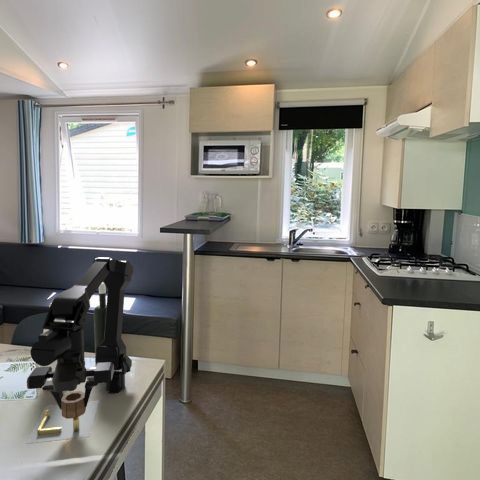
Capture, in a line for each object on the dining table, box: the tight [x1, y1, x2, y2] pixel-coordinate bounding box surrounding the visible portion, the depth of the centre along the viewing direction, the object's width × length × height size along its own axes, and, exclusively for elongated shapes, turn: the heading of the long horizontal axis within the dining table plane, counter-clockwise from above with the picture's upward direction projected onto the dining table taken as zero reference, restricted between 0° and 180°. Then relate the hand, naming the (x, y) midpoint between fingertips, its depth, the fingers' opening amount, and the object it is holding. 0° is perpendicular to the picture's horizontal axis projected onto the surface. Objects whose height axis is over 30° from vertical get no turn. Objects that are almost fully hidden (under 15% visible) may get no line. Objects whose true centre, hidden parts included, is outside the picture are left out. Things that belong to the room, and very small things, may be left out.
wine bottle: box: [93, 282, 107, 359], centre depth 124 cm, size 6×6×30 cm
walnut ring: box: [61, 390, 86, 419], centre depth 92 cm, size 5×5×4 cm
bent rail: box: [37, 409, 62, 436], centre depth 95 cm, size 8×6×2 cm
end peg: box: [73, 417, 79, 432], centre depth 92 cm, size 1×1×4 cm
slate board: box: [25, 400, 100, 445], centre depth 97 cm, size 16×14×1 cm
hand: (73, 407), depth 92 cm, fingers closed on walnut ring, 5 cm apart
